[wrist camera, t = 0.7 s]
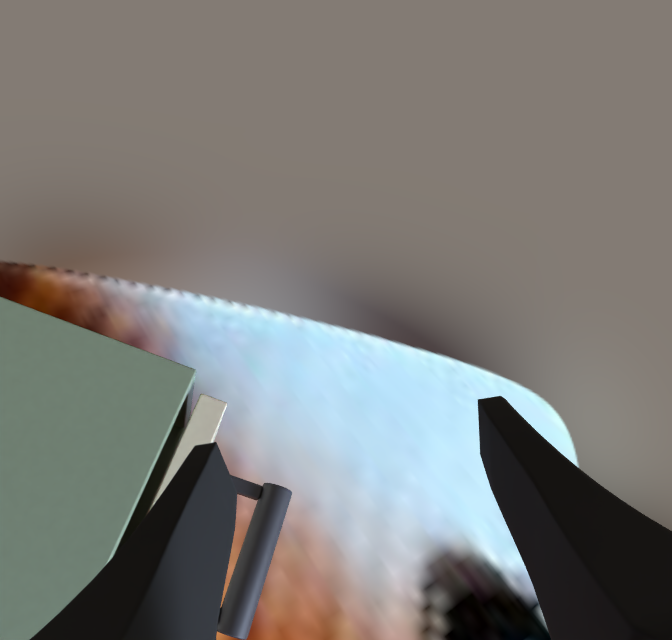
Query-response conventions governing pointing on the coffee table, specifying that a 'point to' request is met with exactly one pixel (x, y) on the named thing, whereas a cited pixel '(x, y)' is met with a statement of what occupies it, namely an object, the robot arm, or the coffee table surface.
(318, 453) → the coffee table surface
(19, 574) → the muted green box
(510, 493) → the robot arm
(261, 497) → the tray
